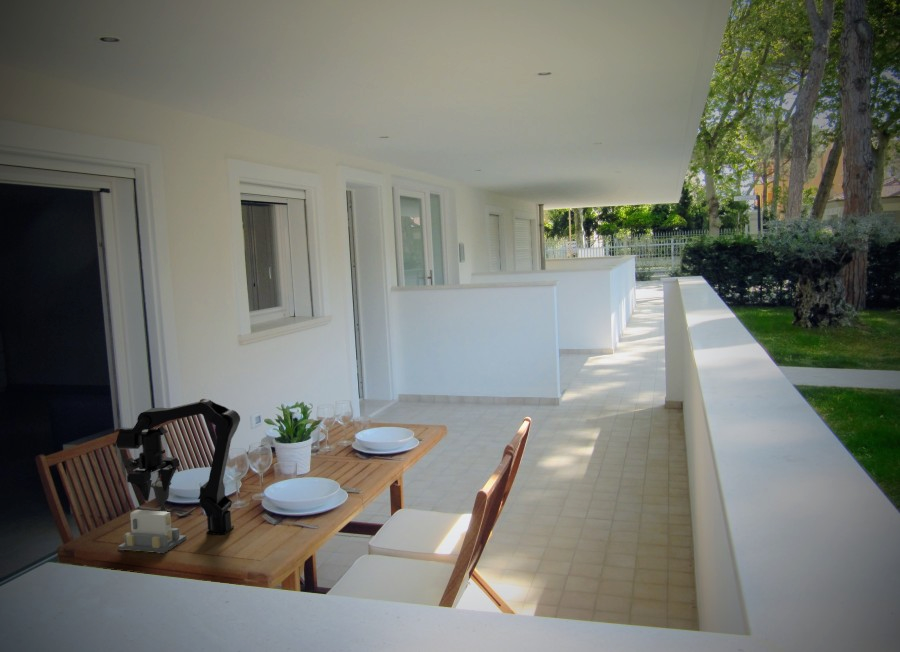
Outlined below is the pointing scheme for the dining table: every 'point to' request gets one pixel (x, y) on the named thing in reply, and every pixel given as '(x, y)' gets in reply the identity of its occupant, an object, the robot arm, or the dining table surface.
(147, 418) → the robot arm
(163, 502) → the sundae
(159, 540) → the clip plinth
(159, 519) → the white rectangular block
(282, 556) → the dining table surface
